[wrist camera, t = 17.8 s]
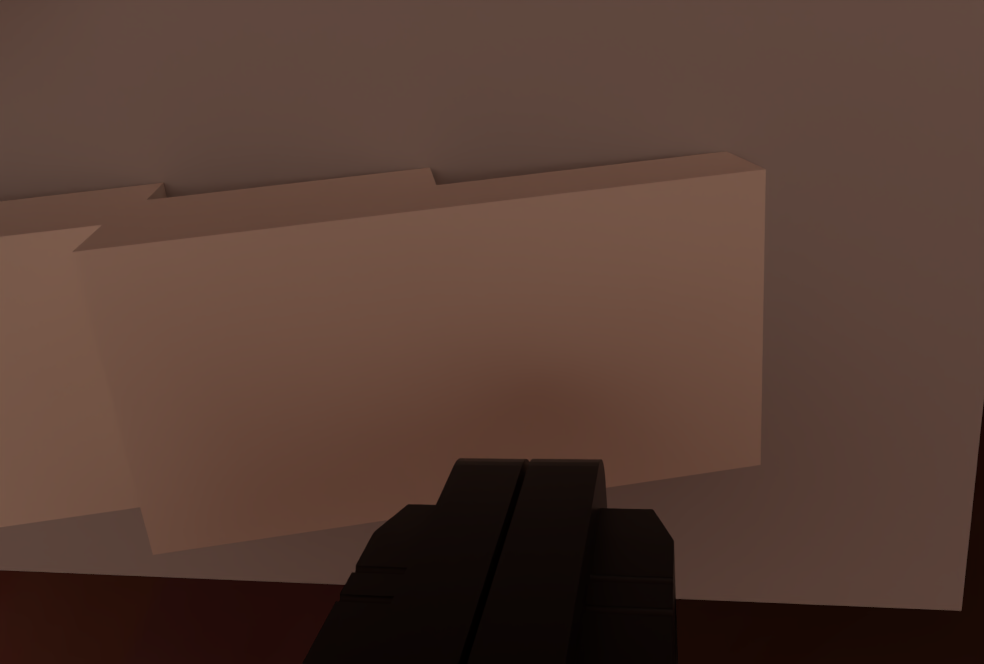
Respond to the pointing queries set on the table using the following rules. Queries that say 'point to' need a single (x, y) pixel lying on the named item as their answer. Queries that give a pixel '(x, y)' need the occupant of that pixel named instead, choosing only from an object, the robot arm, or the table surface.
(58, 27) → the grey rubber mat
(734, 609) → the table surface
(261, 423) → the ivory domino
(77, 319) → the ivory domino
